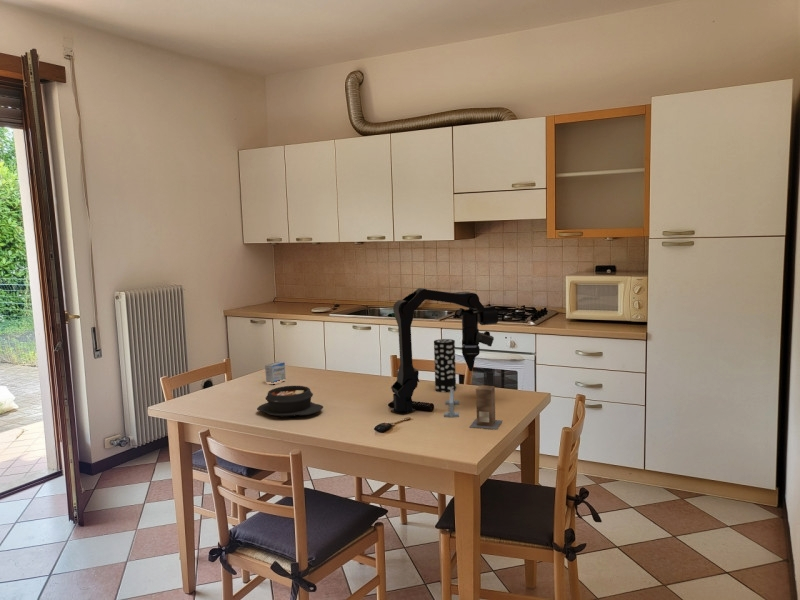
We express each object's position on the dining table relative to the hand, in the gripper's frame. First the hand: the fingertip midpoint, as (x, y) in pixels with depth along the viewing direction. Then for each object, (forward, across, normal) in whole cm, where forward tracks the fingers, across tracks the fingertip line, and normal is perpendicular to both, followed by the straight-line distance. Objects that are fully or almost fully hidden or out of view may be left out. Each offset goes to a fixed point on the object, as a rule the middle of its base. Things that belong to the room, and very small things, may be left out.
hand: (470, 368), depth 221 cm
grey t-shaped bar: (+13, -9, +7) cm, 17 cm away
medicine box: (+13, +34, +85) cm, 93 cm away
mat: (+13, -26, -4) cm, 29 cm away
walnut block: (+13, -26, -4) cm, 29 cm away
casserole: (+13, -11, +66) cm, 68 cm away
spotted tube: (+13, +19, +10) cm, 25 cm away
